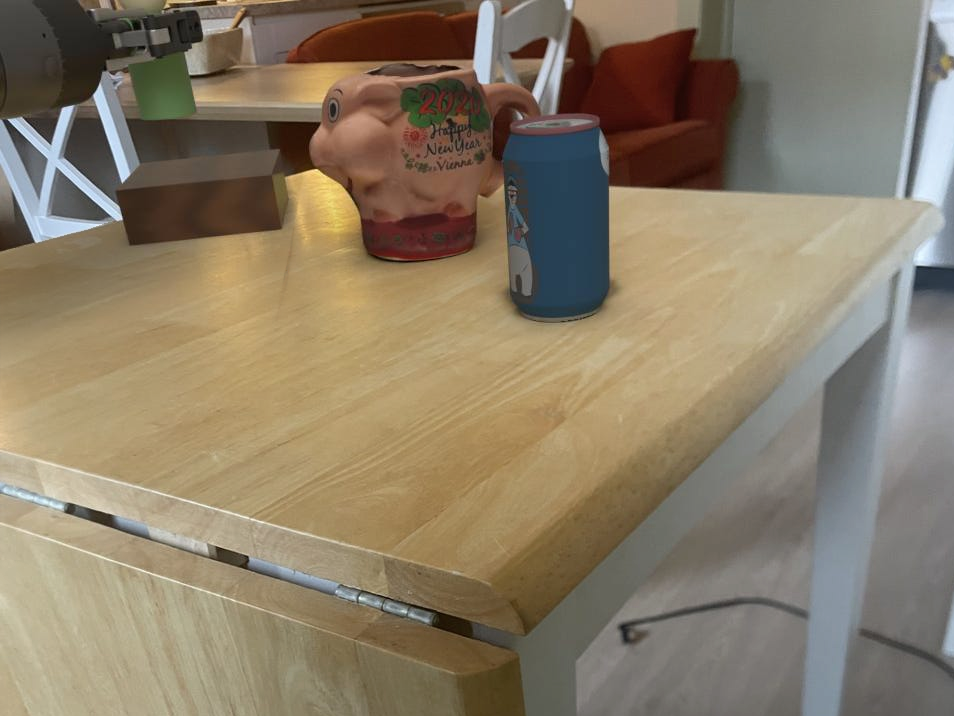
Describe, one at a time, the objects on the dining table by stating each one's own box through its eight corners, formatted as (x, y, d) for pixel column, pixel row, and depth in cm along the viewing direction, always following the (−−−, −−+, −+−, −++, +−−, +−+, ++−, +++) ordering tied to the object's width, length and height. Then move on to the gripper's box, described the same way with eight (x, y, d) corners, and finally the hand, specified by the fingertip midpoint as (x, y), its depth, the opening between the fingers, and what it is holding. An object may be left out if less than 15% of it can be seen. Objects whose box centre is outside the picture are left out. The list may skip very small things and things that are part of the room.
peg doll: (136, 122, 81) (96, -40, 75) (145, 114, 85) (109, -40, 79) (193, 116, 81) (159, -45, 75) (200, 109, 85) (168, -45, 79)
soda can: (623, 297, 72) (624, 111, 65) (588, 328, 67) (585, 130, 60) (534, 292, 75) (526, 112, 68) (495, 321, 70) (482, 130, 63)
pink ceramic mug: (512, 214, 96) (503, 47, 88) (571, 239, 87) (566, 54, 79) (311, 250, 91) (282, 75, 83) (350, 281, 81) (321, 86, 73)
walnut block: (133, 259, 93) (114, 190, 90) (156, 225, 105) (140, 163, 101) (284, 243, 94) (271, 174, 91) (290, 211, 105) (279, 148, 102)
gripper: (78, -20, 64) (234, -35, 77) (-80, -5, 70) (90, -22, 82) (111, 111, 69) (254, 77, 81) (-40, 116, 74) (116, 82, 86)
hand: (170, 27), depth 81 cm, fingers closed on peg doll, 4 cm apart
